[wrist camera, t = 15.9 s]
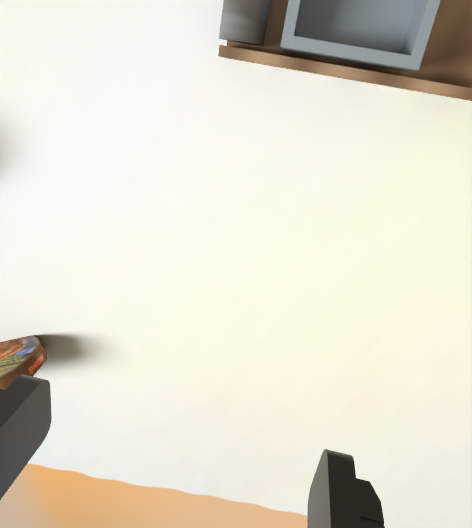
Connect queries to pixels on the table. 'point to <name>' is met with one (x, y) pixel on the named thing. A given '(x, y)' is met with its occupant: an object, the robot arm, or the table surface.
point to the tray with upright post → (361, 30)
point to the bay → (423, 80)
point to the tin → (20, 359)
